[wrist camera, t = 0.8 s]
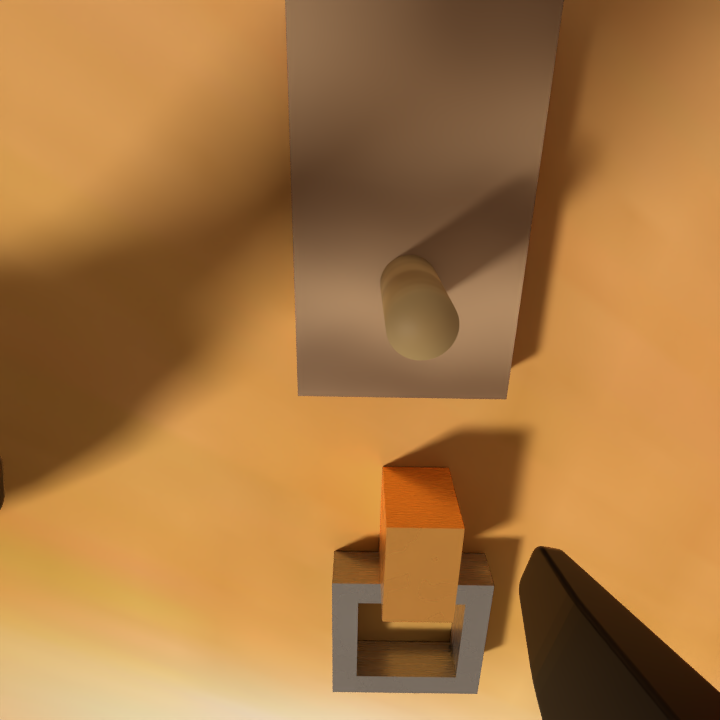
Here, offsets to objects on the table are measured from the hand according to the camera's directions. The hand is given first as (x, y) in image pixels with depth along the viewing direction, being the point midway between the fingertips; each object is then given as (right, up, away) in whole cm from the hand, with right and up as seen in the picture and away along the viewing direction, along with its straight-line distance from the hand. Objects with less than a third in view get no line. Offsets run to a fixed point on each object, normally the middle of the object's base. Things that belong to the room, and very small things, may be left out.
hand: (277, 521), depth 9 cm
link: (+4, -8, +17) cm, 20 cm away
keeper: (+3, +8, +11) cm, 14 cm away
